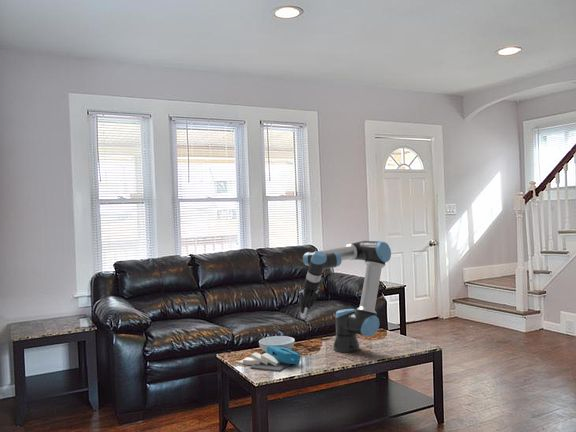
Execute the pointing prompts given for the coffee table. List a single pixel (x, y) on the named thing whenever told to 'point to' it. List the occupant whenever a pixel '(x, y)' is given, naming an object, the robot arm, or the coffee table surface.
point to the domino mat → (270, 366)
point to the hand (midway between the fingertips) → (302, 317)
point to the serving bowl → (277, 342)
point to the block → (284, 354)
